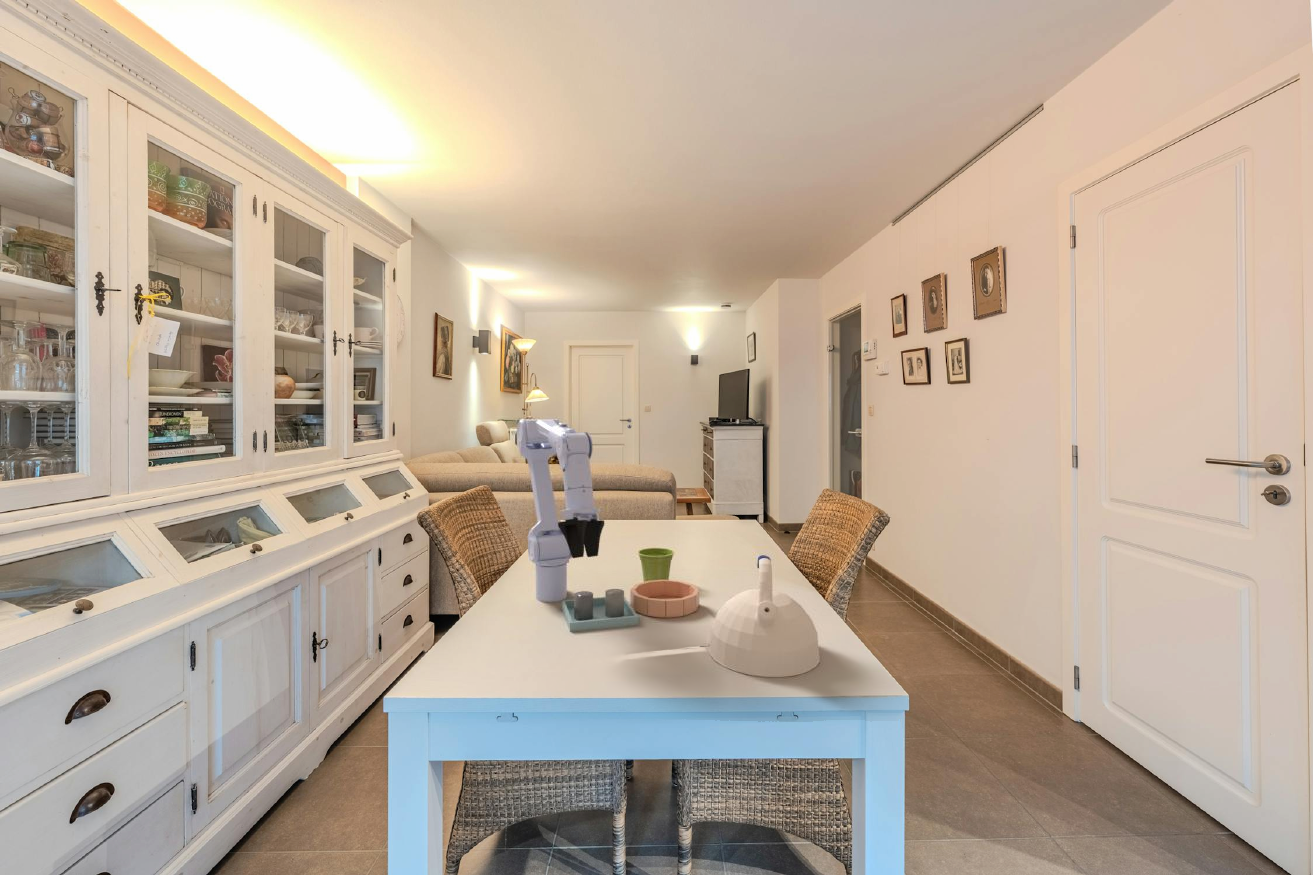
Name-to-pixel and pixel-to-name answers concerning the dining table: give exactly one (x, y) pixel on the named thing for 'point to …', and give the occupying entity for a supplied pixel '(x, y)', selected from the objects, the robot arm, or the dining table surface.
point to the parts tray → (598, 616)
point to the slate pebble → (614, 603)
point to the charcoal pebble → (583, 606)
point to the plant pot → (655, 563)
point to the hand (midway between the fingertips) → (585, 557)
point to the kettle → (764, 632)
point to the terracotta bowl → (664, 598)
